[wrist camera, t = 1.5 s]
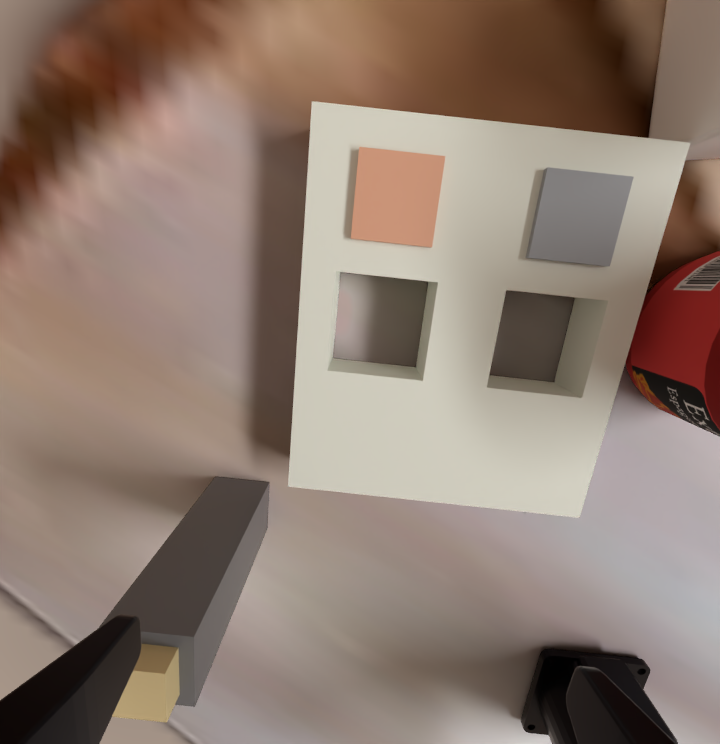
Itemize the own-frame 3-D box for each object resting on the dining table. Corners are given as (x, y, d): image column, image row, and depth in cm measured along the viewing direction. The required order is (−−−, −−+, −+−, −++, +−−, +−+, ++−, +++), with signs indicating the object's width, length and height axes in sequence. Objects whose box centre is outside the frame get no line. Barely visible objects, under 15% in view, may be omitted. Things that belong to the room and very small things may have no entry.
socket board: (553, 488, 20) (582, 522, 17) (297, 461, 20) (286, 490, 17) (641, 163, 16) (697, 139, 13) (320, 128, 16) (310, 97, 13)
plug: (267, 528, 21) (183, 735, 12) (215, 523, 21) (87, 725, 11) (269, 482, 20) (181, 662, 11) (215, 476, 20) (79, 652, 11)
